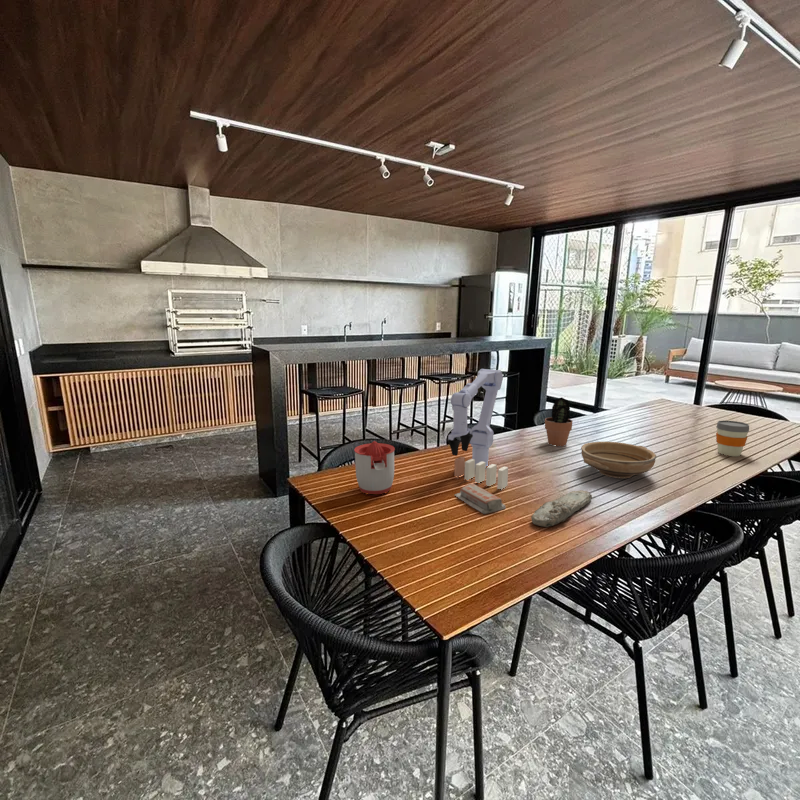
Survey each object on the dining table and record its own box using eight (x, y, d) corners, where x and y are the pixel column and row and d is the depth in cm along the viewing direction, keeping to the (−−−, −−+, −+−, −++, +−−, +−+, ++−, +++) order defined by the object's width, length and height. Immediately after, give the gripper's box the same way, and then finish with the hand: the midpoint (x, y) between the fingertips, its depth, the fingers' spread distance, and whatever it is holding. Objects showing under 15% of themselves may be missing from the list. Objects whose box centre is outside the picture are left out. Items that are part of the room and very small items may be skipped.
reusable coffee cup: (752, 457, 202) (756, 426, 200) (725, 457, 203) (729, 426, 200) (732, 449, 215) (736, 420, 212) (707, 449, 215) (710, 420, 212)
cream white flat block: (464, 480, 178) (464, 461, 176) (470, 476, 182) (471, 458, 180) (468, 481, 177) (468, 462, 175) (474, 477, 180) (475, 459, 179)
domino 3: (475, 483, 175) (475, 464, 173) (481, 479, 178) (481, 461, 177) (478, 484, 173) (479, 465, 172) (485, 480, 177) (485, 462, 176)
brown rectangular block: (454, 477, 181) (454, 459, 179) (460, 474, 185) (461, 456, 183) (458, 478, 180) (458, 460, 178) (464, 475, 184) (464, 457, 182)
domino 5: (497, 489, 168) (497, 469, 167) (503, 485, 172) (504, 466, 170) (501, 490, 167) (502, 470, 166) (507, 486, 171) (508, 467, 169)
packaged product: (507, 496, 150) (484, 502, 146) (506, 509, 151) (484, 516, 147) (475, 480, 166) (454, 485, 162) (475, 491, 167) (453, 497, 162)
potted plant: (538, 442, 230) (540, 396, 225) (557, 439, 236) (559, 394, 231) (557, 449, 218) (560, 401, 213) (576, 445, 223) (580, 398, 219)
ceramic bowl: (618, 493, 163) (621, 468, 161) (558, 470, 187) (559, 448, 186) (674, 475, 181) (677, 452, 179) (612, 457, 205) (614, 436, 203)
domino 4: (485, 486, 171) (486, 467, 170) (492, 482, 175) (492, 463, 174) (490, 487, 170) (490, 468, 169) (496, 483, 174) (496, 464, 172)
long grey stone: (599, 504, 157) (572, 498, 164) (599, 490, 157) (573, 484, 164) (552, 532, 134) (523, 523, 141) (552, 516, 133) (524, 507, 140)
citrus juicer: (360, 502, 157) (358, 450, 154) (352, 485, 174) (350, 437, 170) (401, 497, 161) (400, 446, 158) (389, 480, 178) (389, 434, 174)
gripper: (461, 416, 186) (461, 447, 188) (442, 423, 175) (442, 455, 177) (475, 419, 181) (475, 450, 184) (456, 425, 170) (456, 458, 173)
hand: (459, 452), depth 180 cm, fingers open, 7 cm apart
